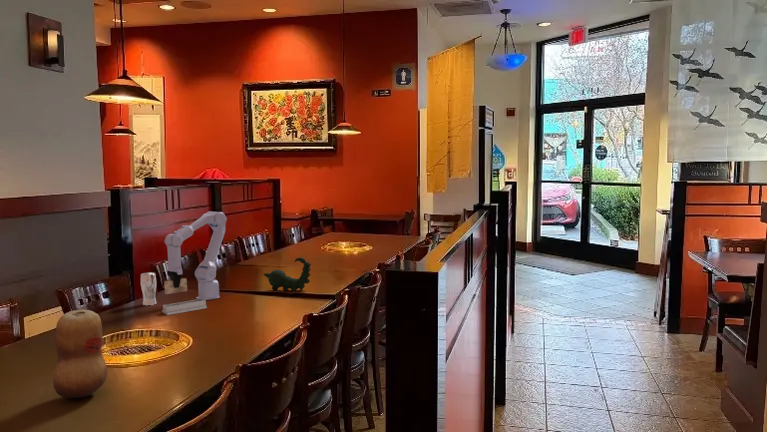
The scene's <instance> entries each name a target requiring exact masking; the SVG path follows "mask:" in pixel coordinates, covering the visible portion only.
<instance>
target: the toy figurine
mask: <svg viewBox="0 0 767 432" xmlns="http://www.w3.org/2000/svg"><path fill="white" fill-rule="evenodd" d="M296 262H300V263H301V264H303V267H302V269H301V270H302V272H301V274H300V277H299V278H293V277H292V276H290V275H287V274H286V273H285V271H283V270H282V269H274V270H272V271H271V272H268V273H263V274H262V275H263V276H264V277H266V278H267V279H268V283H269V285H270V286H271V289H272V291H273V292H275V290H276V291H278V290H279V288H282V291H284V292H285V291H286V292H287V291H288V290H289V289H290V290H291V292H293V291H294V292H295V291H296V290H298V289H299V290H300V291H301V290H303V289H304V288H305V287H306V286H305V285H307V284H309V283H310V282H311V280H310V279H309V277H310V276H311V273H310V271H311V270H312V268H311V265H312V264H311V262H309V261H306V259H305V258H303V257H296V258H295V259H294V263H296Z"/></svg>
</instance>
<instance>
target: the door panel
mask: <svg viewBox="0 0 767 432" xmlns="http://www.w3.org/2000/svg"><path fill="white" fill-rule="evenodd" d="M163 282H164V283H163V284H164V286H163V287H164V295H169V294H176V293H183V292H184V293H185V292H187V291H188V280H187V278H186V277H185V278H181V281H180V286H179V288H174V285H173V280H171V279H170V280H164V281H163Z"/></svg>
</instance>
